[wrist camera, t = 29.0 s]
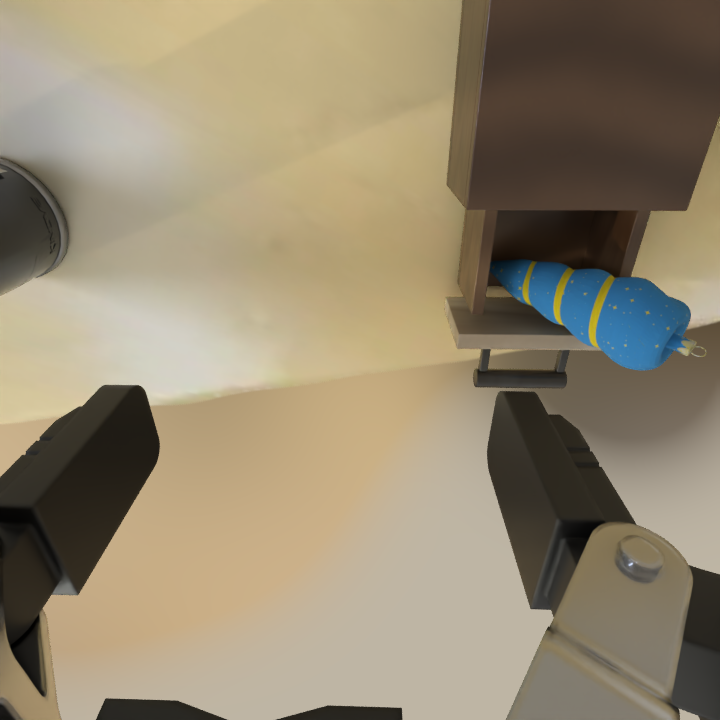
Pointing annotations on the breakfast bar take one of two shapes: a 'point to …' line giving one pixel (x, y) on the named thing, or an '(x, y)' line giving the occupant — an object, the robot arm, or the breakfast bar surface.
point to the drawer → (542, 244)
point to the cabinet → (583, 103)
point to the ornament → (602, 309)
